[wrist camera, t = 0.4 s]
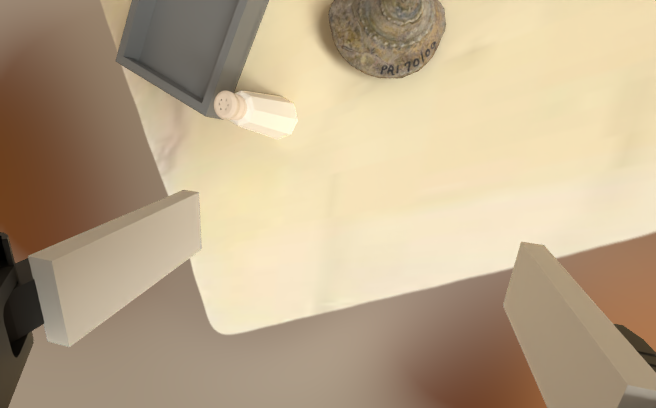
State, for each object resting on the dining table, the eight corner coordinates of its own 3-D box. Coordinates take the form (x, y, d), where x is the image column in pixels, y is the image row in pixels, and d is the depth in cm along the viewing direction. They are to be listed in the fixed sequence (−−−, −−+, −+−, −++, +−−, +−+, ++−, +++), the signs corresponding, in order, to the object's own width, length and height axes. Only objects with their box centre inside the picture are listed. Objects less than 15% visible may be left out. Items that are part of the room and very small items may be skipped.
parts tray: (174, -59, 47) (152, -75, 44) (274, -16, 42) (258, -30, 39) (137, 67, 52) (115, 61, 49) (223, 119, 47) (205, 116, 44)
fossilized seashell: (413, 98, 36) (385, 61, 30) (342, 79, 42) (307, 45, 37) (463, 3, 35) (443, -53, 29) (382, -2, 41) (353, -48, 36)
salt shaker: (301, 97, 43) (248, 77, 32) (296, 141, 43) (244, 135, 33) (263, 95, 44) (203, 74, 34) (260, 137, 45) (200, 129, 35)
